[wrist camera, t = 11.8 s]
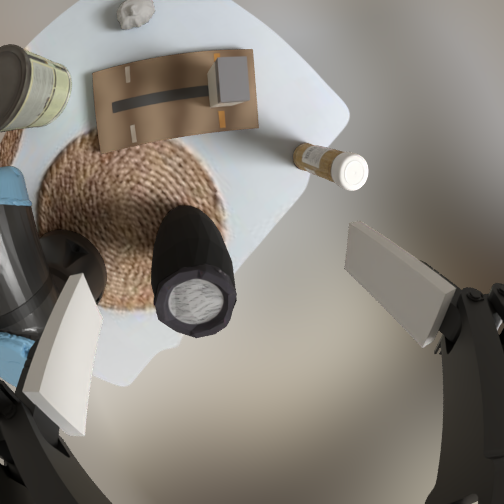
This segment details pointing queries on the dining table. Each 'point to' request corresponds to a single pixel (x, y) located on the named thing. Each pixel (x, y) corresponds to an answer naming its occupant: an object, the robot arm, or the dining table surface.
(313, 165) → the sprinkles bottle
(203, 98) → the fader board
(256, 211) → the dining table surface
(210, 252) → the portable speaker
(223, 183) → the dining table surface
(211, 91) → the fader knob
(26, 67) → the coffee can
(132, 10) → the garlic
